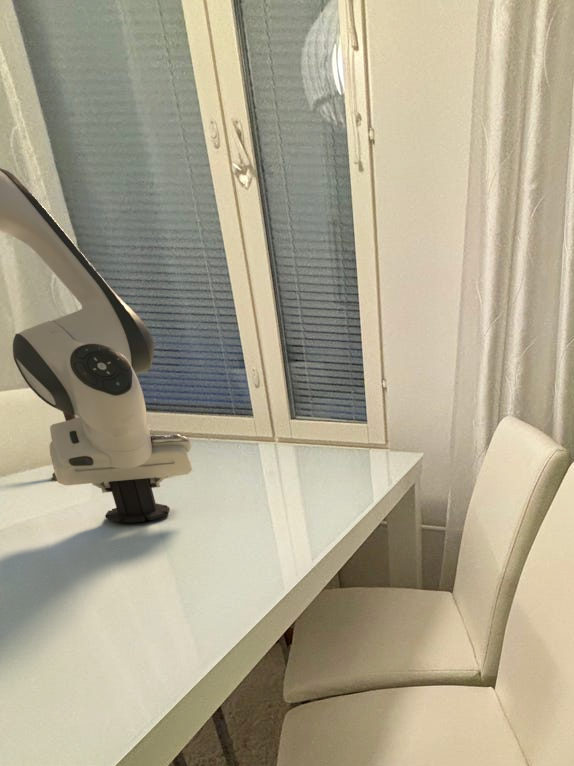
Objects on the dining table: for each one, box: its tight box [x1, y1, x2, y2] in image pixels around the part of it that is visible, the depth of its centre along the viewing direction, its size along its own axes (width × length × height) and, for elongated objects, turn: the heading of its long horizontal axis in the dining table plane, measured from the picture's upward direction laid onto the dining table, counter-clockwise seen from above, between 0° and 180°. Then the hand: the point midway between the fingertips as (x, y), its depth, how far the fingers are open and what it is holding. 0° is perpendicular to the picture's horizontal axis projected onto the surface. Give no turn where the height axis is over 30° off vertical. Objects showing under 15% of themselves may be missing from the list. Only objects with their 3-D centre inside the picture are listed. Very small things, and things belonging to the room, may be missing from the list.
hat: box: [104, 478, 171, 524], centre depth 99 cm, size 10×10×9 cm
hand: (130, 486), depth 99 cm, fingers closed on hat, 6 cm apart
